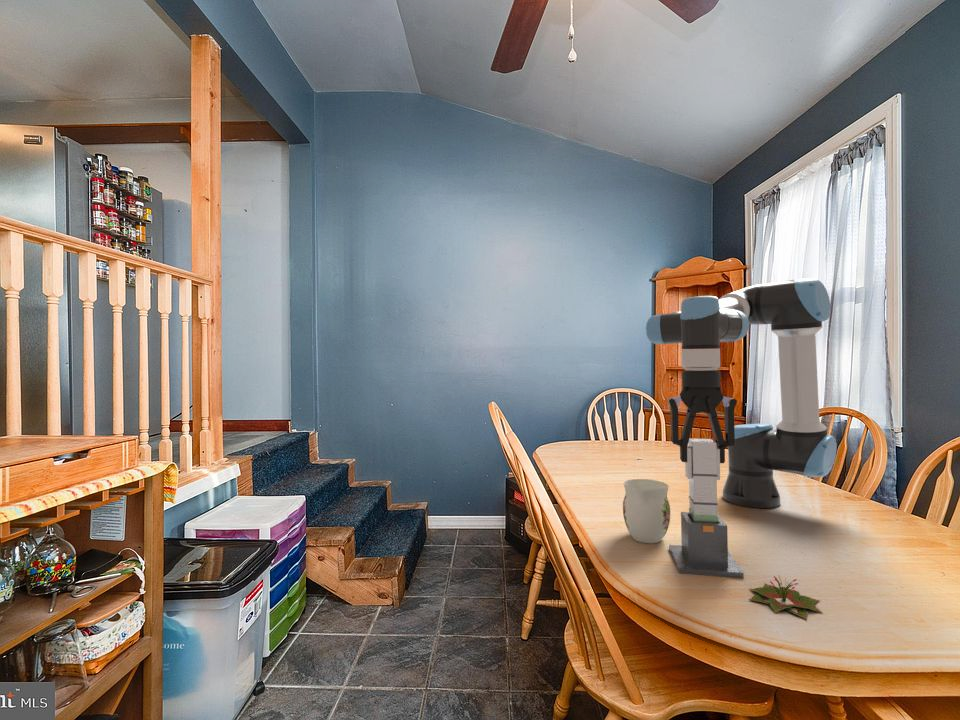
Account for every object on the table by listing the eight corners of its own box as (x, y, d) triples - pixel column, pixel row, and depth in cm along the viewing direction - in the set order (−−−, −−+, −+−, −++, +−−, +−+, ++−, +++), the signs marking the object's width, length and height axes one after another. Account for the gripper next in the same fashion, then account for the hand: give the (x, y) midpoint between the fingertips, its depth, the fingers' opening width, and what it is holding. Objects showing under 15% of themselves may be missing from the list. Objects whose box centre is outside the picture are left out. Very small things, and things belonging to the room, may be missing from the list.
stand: (726, 553, 105) (725, 510, 105) (743, 578, 93) (742, 530, 93) (669, 549, 107) (668, 508, 107) (679, 572, 96) (678, 526, 96)
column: (712, 521, 102) (710, 438, 102) (718, 528, 97) (716, 442, 97) (689, 519, 103) (687, 438, 103) (693, 527, 98) (692, 442, 98)
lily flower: (758, 581, 93) (758, 558, 93) (832, 604, 84) (832, 578, 84) (735, 603, 85) (735, 578, 85) (815, 631, 76) (814, 603, 76)
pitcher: (673, 527, 121) (672, 474, 121) (668, 554, 105) (667, 493, 105) (629, 521, 126) (628, 470, 126) (618, 546, 109) (617, 488, 109)
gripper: (741, 368, 102) (742, 474, 102) (654, 369, 106) (655, 471, 106) (752, 369, 94) (754, 484, 95) (659, 370, 98) (660, 480, 99)
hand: (702, 477), depth 100 cm, fingers open, 5 cm apart
